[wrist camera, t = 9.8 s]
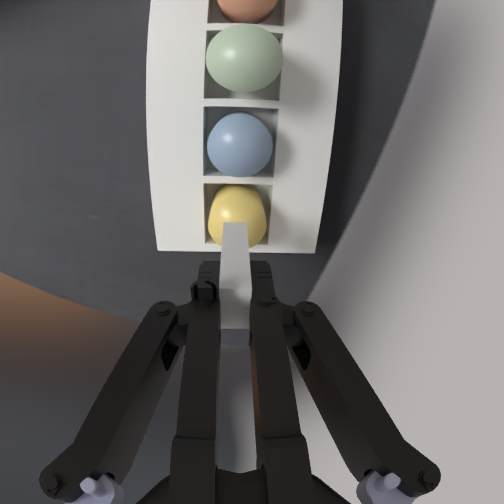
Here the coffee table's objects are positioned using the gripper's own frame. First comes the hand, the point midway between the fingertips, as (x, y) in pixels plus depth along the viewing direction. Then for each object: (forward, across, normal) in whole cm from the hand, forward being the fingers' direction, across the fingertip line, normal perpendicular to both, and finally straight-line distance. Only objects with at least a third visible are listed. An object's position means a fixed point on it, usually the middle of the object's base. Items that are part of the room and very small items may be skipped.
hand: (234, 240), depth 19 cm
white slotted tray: (+8, 0, +9) cm, 12 cm away
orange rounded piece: (+7, 0, +18) cm, 19 cm away
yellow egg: (+7, 0, 0) cm, 7 cm away
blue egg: (+7, 0, +6) cm, 9 cm away
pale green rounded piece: (+5, 0, +12) cm, 13 cm away
